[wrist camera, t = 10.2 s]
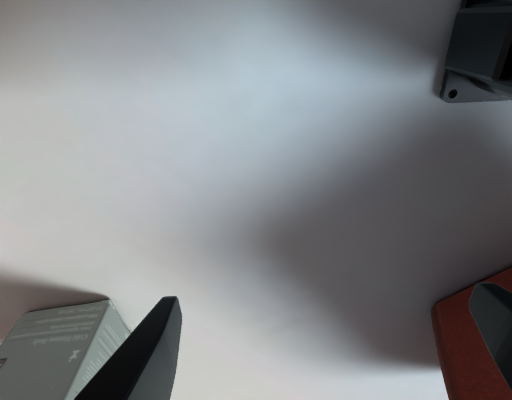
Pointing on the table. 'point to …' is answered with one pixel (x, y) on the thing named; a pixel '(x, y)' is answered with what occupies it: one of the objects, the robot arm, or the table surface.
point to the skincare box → (58, 350)
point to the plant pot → (467, 348)
